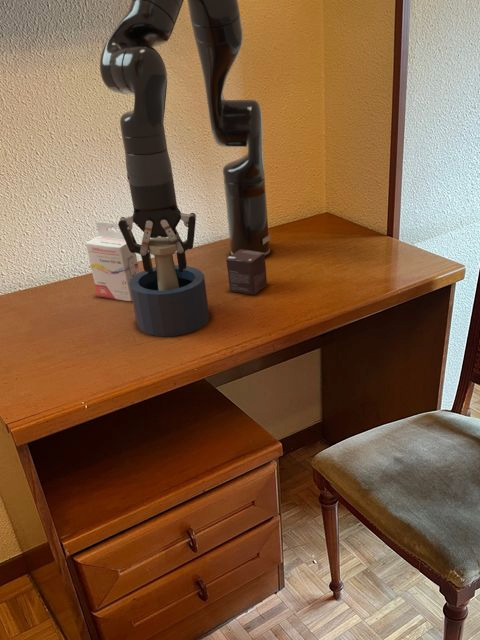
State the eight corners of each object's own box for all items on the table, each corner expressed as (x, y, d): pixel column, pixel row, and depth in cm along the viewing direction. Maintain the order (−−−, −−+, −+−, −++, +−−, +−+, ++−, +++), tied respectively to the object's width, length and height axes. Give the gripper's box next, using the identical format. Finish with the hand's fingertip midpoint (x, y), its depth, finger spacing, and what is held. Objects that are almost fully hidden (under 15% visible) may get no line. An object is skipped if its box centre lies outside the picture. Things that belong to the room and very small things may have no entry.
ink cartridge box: (96, 297, 139) (80, 228, 130) (109, 288, 142) (95, 220, 134) (131, 302, 136) (117, 231, 128) (144, 292, 140) (131, 223, 132)
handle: (169, 327, 125) (156, 250, 117) (155, 315, 130) (141, 240, 121) (192, 320, 128) (181, 244, 119) (177, 308, 132) (166, 235, 123)
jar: (141, 307, 134) (133, 267, 129) (209, 303, 135) (204, 263, 130) (133, 338, 123) (124, 296, 118) (208, 333, 124) (202, 291, 119)
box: (267, 285, 142) (265, 252, 138) (254, 296, 137) (251, 262, 133) (243, 281, 144) (240, 248, 140) (229, 291, 140) (225, 258, 135)
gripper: (193, 170, 117) (205, 262, 127) (111, 174, 116) (129, 267, 126) (192, 181, 111) (204, 277, 121) (105, 186, 110) (124, 282, 120)
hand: (166, 271), depth 123 cm, fingers closed on handle, 5 cm apart
